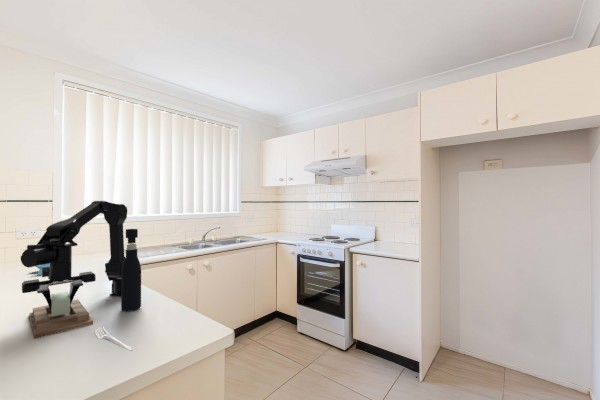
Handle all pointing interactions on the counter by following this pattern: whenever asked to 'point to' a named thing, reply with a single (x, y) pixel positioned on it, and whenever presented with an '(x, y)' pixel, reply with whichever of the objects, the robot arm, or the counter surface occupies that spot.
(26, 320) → the counter surface
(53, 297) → the peg
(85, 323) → the socket board
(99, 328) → the fork
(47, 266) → the blue spiky figurine
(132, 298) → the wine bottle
